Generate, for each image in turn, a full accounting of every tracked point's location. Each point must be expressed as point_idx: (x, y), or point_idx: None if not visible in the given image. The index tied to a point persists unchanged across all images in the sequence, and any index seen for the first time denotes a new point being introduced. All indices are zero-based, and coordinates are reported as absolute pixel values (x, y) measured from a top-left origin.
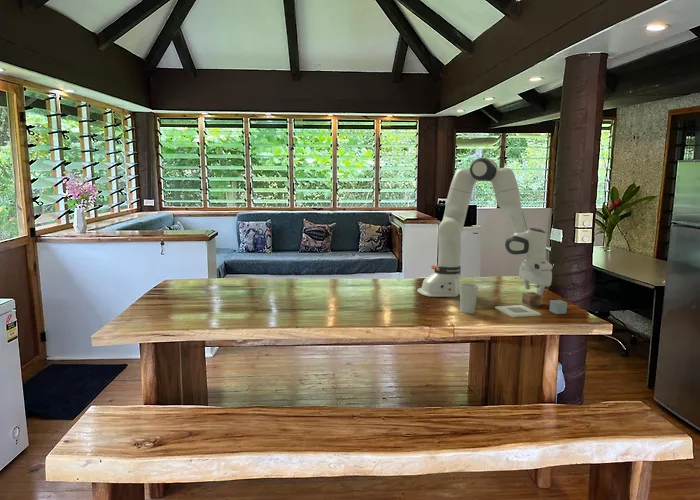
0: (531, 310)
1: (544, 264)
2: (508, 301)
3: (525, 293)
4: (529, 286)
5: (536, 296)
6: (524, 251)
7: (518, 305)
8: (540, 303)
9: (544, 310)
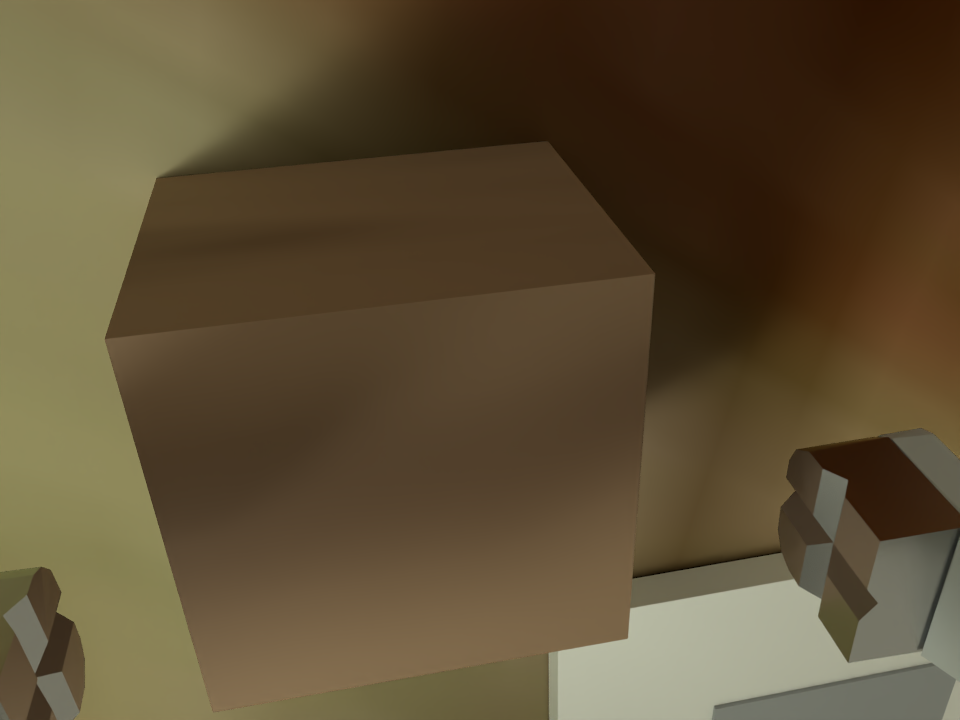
0: None
1: None
2: (125, 709)
3: (305, 665)
4: (17, 696)
5: (629, 437)
6: None
7: (583, 686)
8: (565, 170)
9: (936, 273)
